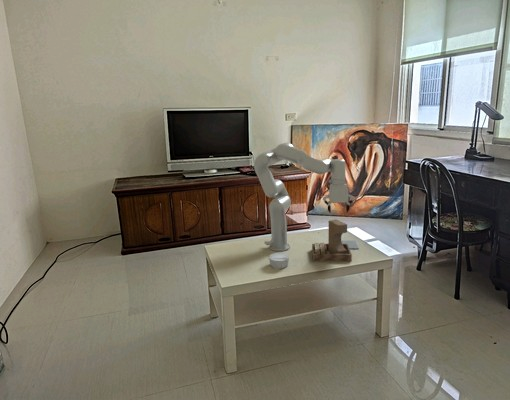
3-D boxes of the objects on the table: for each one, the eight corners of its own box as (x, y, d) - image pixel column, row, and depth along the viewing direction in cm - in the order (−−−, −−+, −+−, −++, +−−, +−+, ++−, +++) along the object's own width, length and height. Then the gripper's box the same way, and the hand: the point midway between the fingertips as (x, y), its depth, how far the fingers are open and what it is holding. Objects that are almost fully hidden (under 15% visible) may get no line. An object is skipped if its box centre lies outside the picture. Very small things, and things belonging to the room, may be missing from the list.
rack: (313, 261, 201) (313, 254, 200) (312, 249, 217) (312, 243, 216) (351, 261, 198) (351, 254, 197) (347, 249, 214) (347, 243, 213)
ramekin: (277, 271, 190) (277, 262, 189) (265, 265, 199) (264, 256, 198) (293, 265, 196) (293, 256, 195) (280, 259, 205) (280, 251, 204)
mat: (343, 249, 216) (343, 248, 216) (340, 241, 228) (340, 240, 228) (358, 249, 215) (358, 248, 215) (355, 241, 227) (355, 240, 227)
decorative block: (347, 257, 203) (347, 224, 198) (338, 259, 201) (338, 225, 196) (336, 251, 213) (336, 219, 208) (328, 252, 211) (328, 220, 206)
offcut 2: (320, 259, 203) (320, 249, 202) (319, 252, 213) (319, 242, 212) (325, 259, 203) (325, 249, 202) (323, 252, 213) (323, 242, 211)
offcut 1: (315, 259, 204) (315, 249, 202) (314, 252, 213) (314, 242, 212) (319, 259, 204) (319, 249, 202) (318, 252, 213) (318, 242, 212)
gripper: (322, 183, 194) (323, 214, 198) (355, 182, 192) (355, 213, 196) (321, 181, 201) (322, 210, 205) (353, 180, 199) (353, 209, 203)
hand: (338, 211), depth 201 cm, fingers open, 9 cm apart
